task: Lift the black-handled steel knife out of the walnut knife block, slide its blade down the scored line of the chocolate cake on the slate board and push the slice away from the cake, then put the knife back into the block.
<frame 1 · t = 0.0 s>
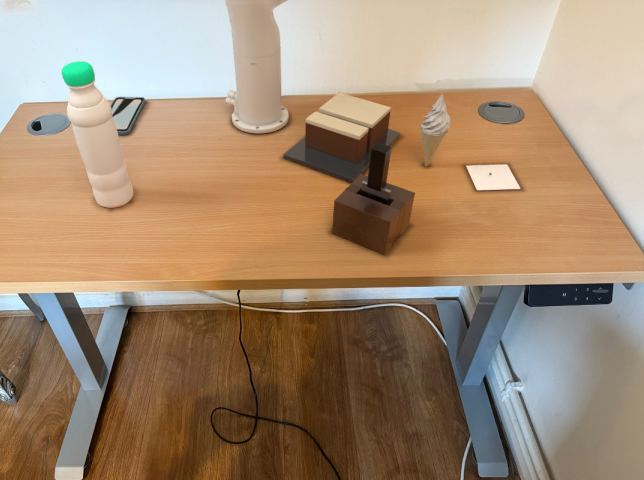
water bottle: (115, 198, 100), on the table
knife block: (370, 229, 92), on the table
coaster: (492, 177, 101), on the table
ice cream cone: (426, 166, 104), on the table
cake board: (342, 147, 110), on the table
smartphone: (122, 117, 121), on the table
knife: (375, 191, 86), in the knife block
cake slice: (334, 150, 107), point 1 cm above the table, touching cake board
cake: (352, 134, 111), point 1 cm above the table, touching cake board
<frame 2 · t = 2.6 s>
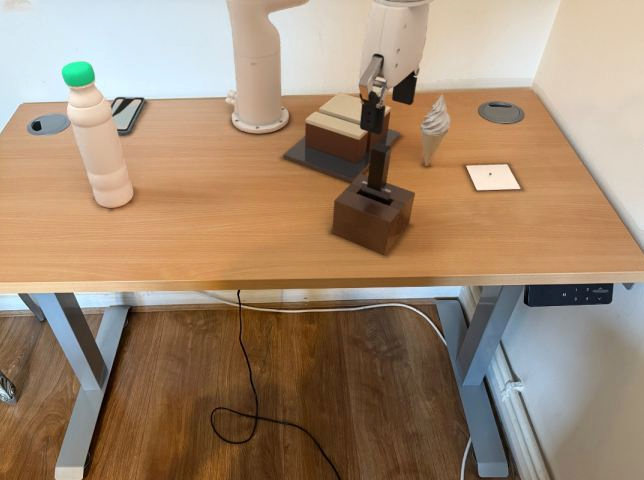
hand: (387, 116, 76), 21 cm above the table, tool pointing down, fingers open, 9 cm apart
nothing on the table moved.
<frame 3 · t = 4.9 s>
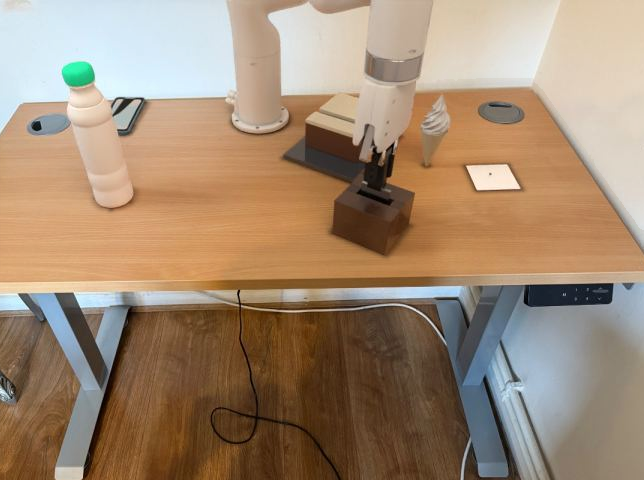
hand: (377, 178, 84), 11 cm above the table, tool pointing down, fingers closed on knife, 2 cm apart
knife: (375, 191, 86), in the knife block, touching gripper
everything else where it was.
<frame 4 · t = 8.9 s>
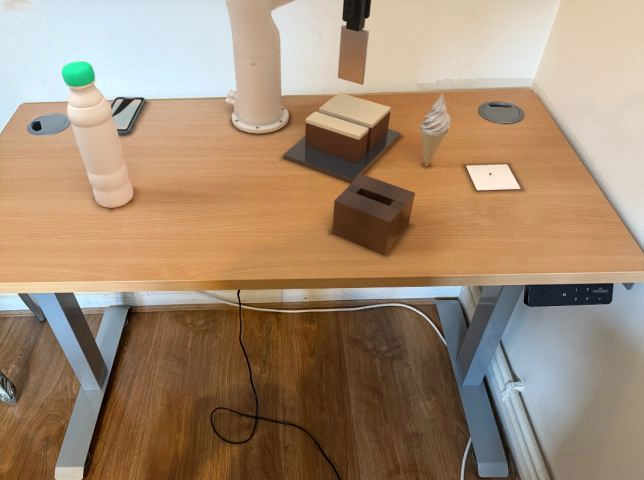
hand: (355, 18, 87), 27 cm above the table, tool pointing down, fingers closed on knife, 2 cm apart
knife: (354, 34, 89), point 24 cm above the table, touching gripper
everything else where it was.
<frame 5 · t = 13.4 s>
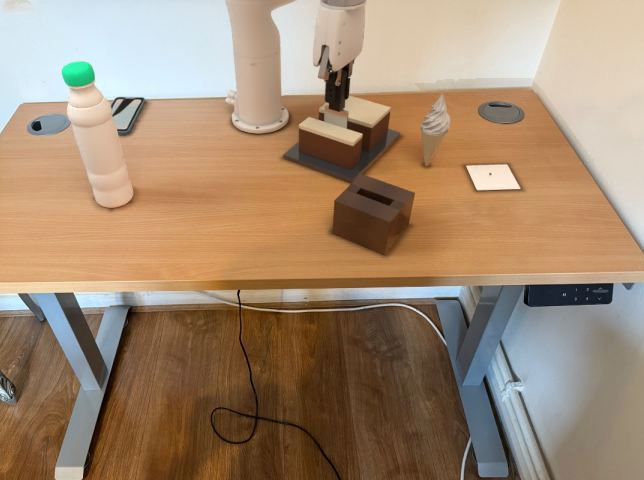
hand: (336, 99, 99), 12 cm above the table, tool pointing down, fingers closed on knife, 2 cm apart
knife: (336, 113, 101), point 9 cm above the table, touching gripper
cake slice: (328, 156, 106), point 1 cm above the table, touching cake board
everything else where it was.
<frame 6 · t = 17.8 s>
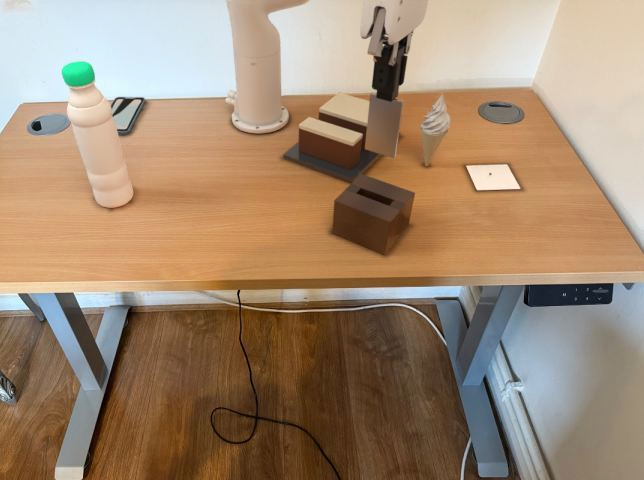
hand: (387, 85, 74), 25 cm above the table, tool pointing down, fingers closed on knife, 2 cm apart
knife: (386, 103, 76), point 23 cm above the table, touching gripper
everything else where it was.
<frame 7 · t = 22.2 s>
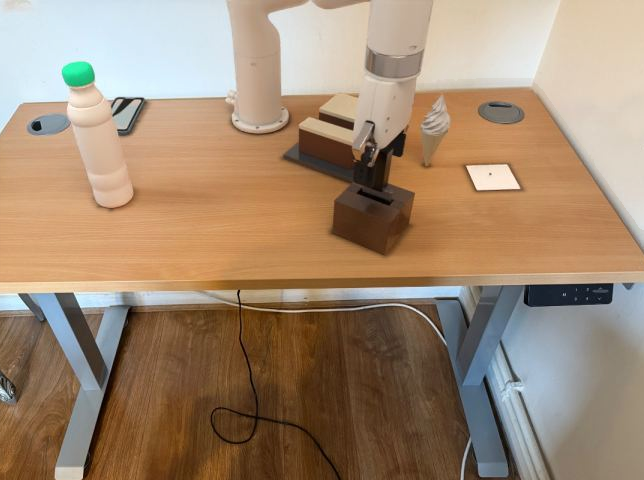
hand: (378, 168, 83), 12 cm above the table, tool pointing down, fingers open, 9 cm apart
knife: (377, 192, 86), in the knife block
everything else where it was.
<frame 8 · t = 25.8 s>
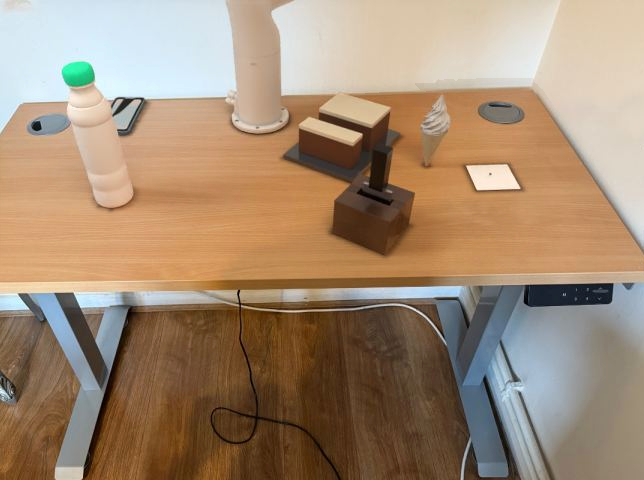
nothing on the table moved.
at the end: cake slice moved 2.5 cm from its start; cake moved 0.0 cm from its start; knife 0.3 cm off-centre on the knife block, point 8.0 cm above the knife block's base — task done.
